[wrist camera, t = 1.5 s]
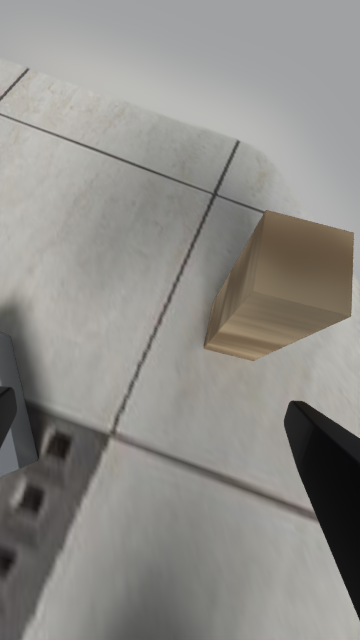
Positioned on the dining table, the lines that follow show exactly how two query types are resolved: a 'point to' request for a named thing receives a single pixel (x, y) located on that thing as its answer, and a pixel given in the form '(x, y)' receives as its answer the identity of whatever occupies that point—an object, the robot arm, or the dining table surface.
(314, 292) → the oak block
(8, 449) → the plate
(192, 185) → the dining table surface
